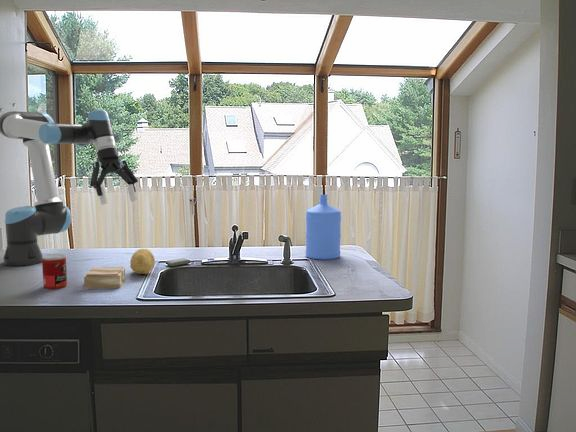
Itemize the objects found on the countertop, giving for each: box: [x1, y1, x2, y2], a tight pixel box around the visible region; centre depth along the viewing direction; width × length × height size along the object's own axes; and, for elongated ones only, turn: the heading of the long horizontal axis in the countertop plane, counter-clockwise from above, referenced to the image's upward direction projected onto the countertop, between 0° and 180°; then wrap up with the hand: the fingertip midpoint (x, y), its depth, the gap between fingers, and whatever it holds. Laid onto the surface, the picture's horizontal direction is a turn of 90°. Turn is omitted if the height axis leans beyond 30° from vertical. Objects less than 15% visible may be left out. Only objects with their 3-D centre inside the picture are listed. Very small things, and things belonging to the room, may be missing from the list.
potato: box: [129, 248, 156, 275], centre depth 214 cm, size 10×14×10 cm
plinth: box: [83, 266, 126, 290], centre depth 198 cm, size 12×12×5 cm
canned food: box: [41, 253, 68, 290], centre depth 194 cm, size 8×8×11 cm
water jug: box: [305, 194, 342, 261], centre depth 246 cm, size 16×16×28 cm
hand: (119, 202), depth 211 cm, fingers open, 13 cm apart
